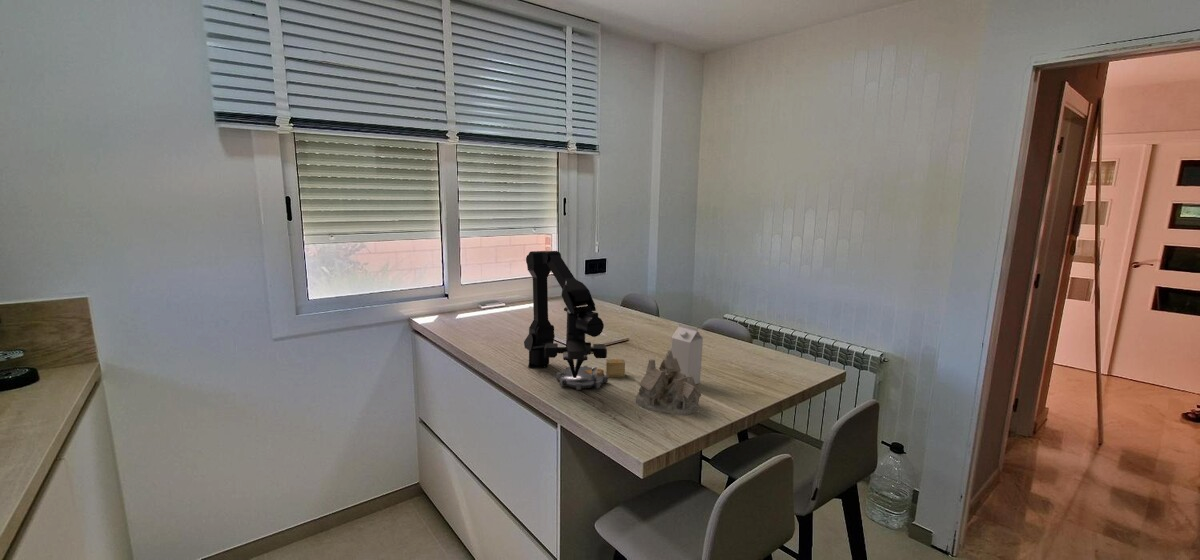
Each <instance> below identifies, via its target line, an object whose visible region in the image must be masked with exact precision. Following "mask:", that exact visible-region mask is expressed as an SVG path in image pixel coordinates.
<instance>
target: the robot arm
mask: <svg viewBox="0 0 1200 560" xmlns="http://www.w3.org/2000/svg"><path fill="white" fill-rule="evenodd" d="M525 261H526V265H527V266H526V268H527V271H528V272H529V274H530V276H531V277H532V300H533V301H532V303H533V310H532V311H533V320H532V322H531V324H530V326H529V327H528V334H527V336H526V337H525V339H524V341H523V346H524V348H525V350H526V349H527V350H528V365H527V368H536V369H537V368H539V369H543V368H544V369H546V368H548V366H549V365H550V358H551V359H552V358H553V359H554V358H556V357H557V356H558V354H562V356H563V357H562V360H563V361H566V362H567V363H568V365H569V366H568V367H570V368H571V371H572V375H573V378H576V377H577V374H578V371H579V369H580V367H582V364H583V363H584V362H585V361H588V355H593V357H595V359H607V358H608V356H607V355H608V351H607V346H606V344H603V343H593V344H592V343H591V341H590V342H589V341H588V342H587V341H586V335H588V336H589V337H592V338H593V337H594V338H596V337H599V336H600V335H601V334H602V333H603V330H604V326H605V325H604V321H603V320H602V318H601V317H599V313H598V312H597V308H596V303H595V302H594V299H593V297H592V294H591V292H590V290H589V288H588V287H587V286H586V285H585V283H584V282H581V281H580V280H578V279H576V277H575V276H574V275H573V273H572V272H571V270H570V269H569V267H568V265H567V264H566V262H565V261H564V260H563V258H562V254H561V252H560V251H558V250H535V251H532V250H531V251H529V252H528V254H527V255H526V257H525ZM550 273H552V275H553V276H554V278H555V279H556V281H557V283H558V284H559V286H560V288H561V293H560V294H561V295H560V296H561V298H562V300H563V302H564V305H566V306H565V307H564V308H563V311H564V312H566V338H565V340H566V342H565V346H558V345H559V344H558V343H555V342H554V341H555V337H556V335H555V326H554V324H552V323H551V322H550V320H549V296H548V292H549V291H548V277H549V275H550ZM574 360H576V361H574ZM574 367H575V369H574Z"/></svg>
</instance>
